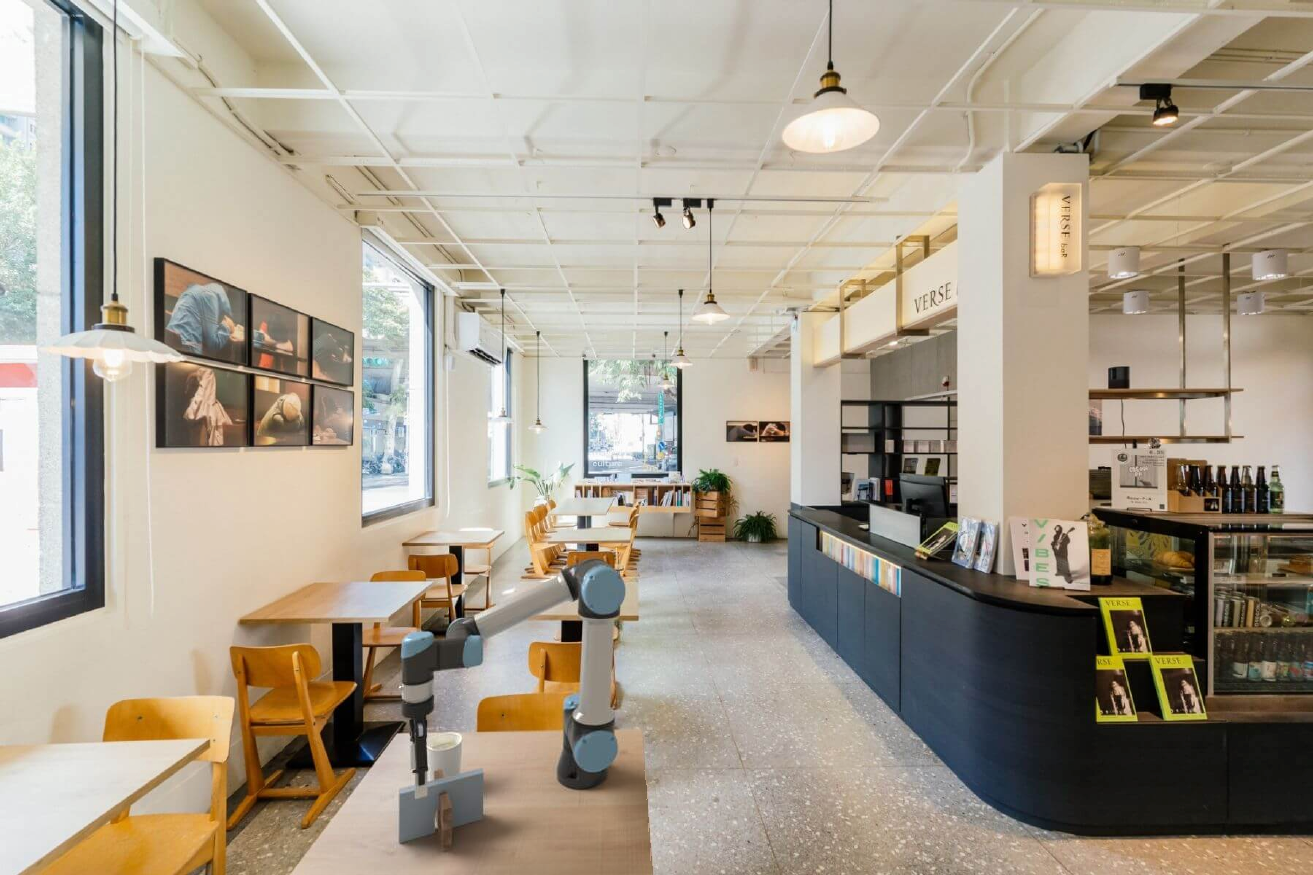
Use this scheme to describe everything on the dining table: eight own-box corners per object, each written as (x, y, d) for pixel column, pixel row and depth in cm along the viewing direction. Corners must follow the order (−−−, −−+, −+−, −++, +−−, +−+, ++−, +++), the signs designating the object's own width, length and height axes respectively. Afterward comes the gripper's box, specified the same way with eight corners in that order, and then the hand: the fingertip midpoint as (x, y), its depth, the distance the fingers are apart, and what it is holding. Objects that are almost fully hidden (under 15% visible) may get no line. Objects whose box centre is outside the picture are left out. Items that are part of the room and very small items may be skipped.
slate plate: (481, 813, 151) (481, 767, 151) (483, 818, 148) (483, 772, 148) (398, 837, 141) (398, 788, 141) (399, 843, 139) (399, 793, 139)
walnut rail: (441, 806, 153) (442, 768, 153) (451, 848, 137) (451, 807, 137) (433, 808, 152) (434, 770, 152) (442, 851, 136) (442, 809, 136)
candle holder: (450, 795, 158) (450, 751, 158) (418, 790, 160) (419, 747, 160) (468, 774, 168) (469, 733, 168) (438, 770, 170) (439, 730, 170)
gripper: (398, 680, 152) (399, 760, 152) (405, 721, 130) (405, 815, 129) (428, 675, 155) (429, 753, 155) (440, 714, 133) (440, 805, 133)
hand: (418, 781), depth 142 cm, fingers open, 13 cm apart
